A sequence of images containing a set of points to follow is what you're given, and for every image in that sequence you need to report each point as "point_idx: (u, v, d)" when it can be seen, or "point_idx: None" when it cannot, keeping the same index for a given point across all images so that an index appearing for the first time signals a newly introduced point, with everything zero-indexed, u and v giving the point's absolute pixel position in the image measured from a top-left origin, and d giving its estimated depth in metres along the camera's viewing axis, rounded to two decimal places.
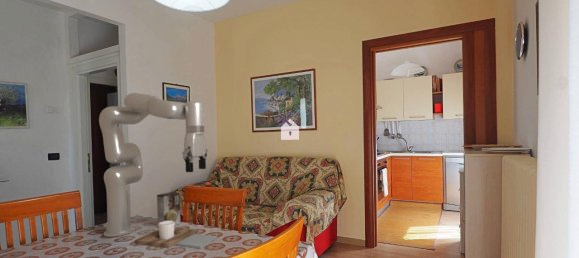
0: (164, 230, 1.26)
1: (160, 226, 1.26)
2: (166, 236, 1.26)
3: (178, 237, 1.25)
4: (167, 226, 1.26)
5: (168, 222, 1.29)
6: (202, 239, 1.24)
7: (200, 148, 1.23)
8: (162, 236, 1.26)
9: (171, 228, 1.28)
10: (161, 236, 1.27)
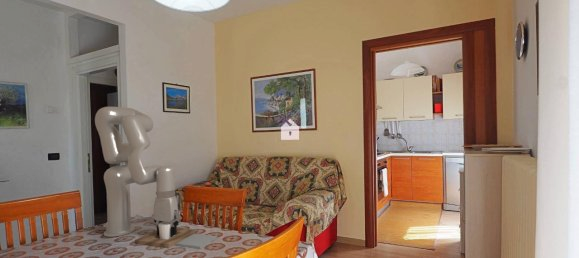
0: (164, 230, 1.26)
1: (160, 226, 1.26)
2: (166, 236, 1.26)
3: (178, 237, 1.25)
4: (167, 226, 1.26)
5: (168, 222, 1.29)
6: (202, 239, 1.24)
7: None
8: (162, 236, 1.26)
9: None
10: (161, 236, 1.27)
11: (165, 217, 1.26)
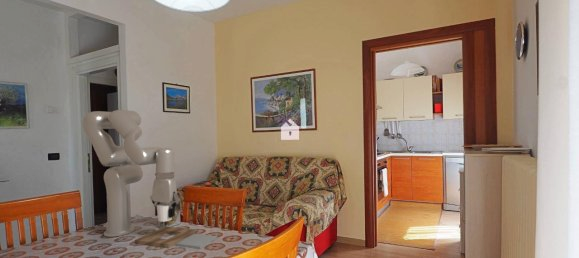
0: (162, 211, 1.26)
1: (158, 207, 1.26)
2: (164, 217, 1.27)
3: (178, 237, 1.25)
4: (165, 207, 1.27)
5: (166, 204, 1.30)
6: (202, 239, 1.24)
7: None
8: (160, 218, 1.27)
9: None
10: (159, 217, 1.27)
11: (164, 198, 1.26)
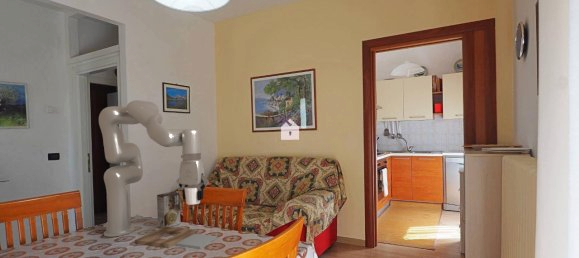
0: (191, 194, 1.22)
1: (187, 190, 1.22)
2: (193, 200, 1.22)
3: (178, 237, 1.25)
4: (194, 189, 1.22)
5: (194, 186, 1.25)
6: (202, 239, 1.24)
7: None
8: (189, 200, 1.22)
9: None
10: (188, 200, 1.22)
11: (192, 180, 1.21)
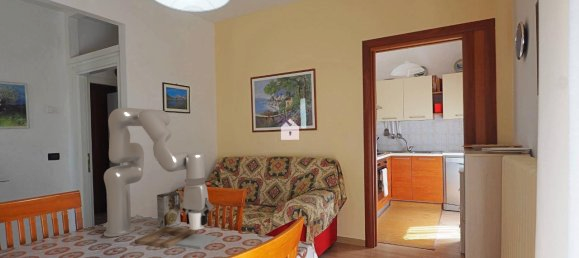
0: (195, 219, 1.21)
1: (190, 215, 1.21)
2: (197, 225, 1.21)
3: (178, 237, 1.25)
4: (198, 215, 1.21)
5: (198, 211, 1.24)
6: (202, 239, 1.24)
7: None
8: (193, 226, 1.21)
9: None
10: (191, 225, 1.21)
11: (196, 205, 1.21)
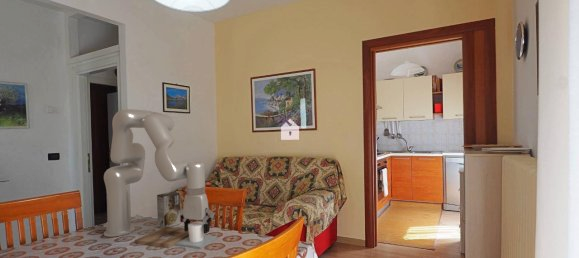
0: (194, 231, 1.21)
1: (190, 227, 1.21)
2: (196, 237, 1.21)
3: (178, 237, 1.25)
4: (198, 227, 1.21)
5: (198, 223, 1.24)
6: None
7: None
8: (192, 238, 1.21)
9: (201, 229, 1.23)
10: (191, 237, 1.21)
11: (196, 215, 1.21)
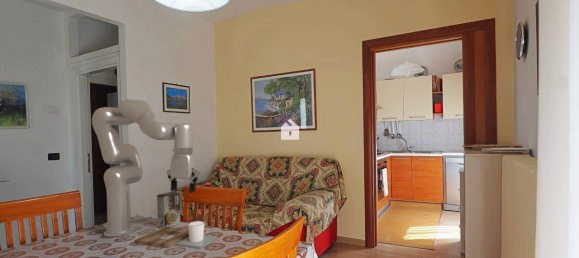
0: (194, 231, 1.21)
1: (190, 227, 1.21)
2: (196, 237, 1.21)
3: (178, 237, 1.25)
4: (198, 227, 1.21)
5: (198, 223, 1.24)
6: None
7: None
8: (192, 238, 1.21)
9: (201, 229, 1.23)
10: (191, 238, 1.21)
11: (182, 174, 1.23)
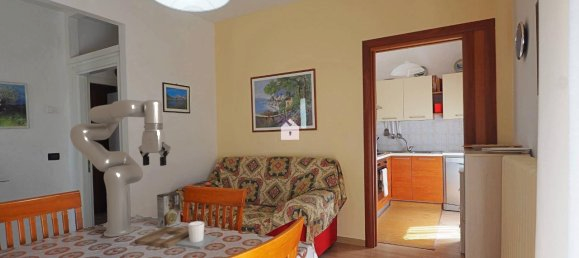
0: (194, 231, 1.21)
1: (190, 227, 1.21)
2: (196, 237, 1.21)
3: (178, 237, 1.25)
4: (198, 227, 1.21)
5: (198, 223, 1.24)
6: None
7: None
8: (192, 238, 1.21)
9: (201, 229, 1.23)
10: (191, 238, 1.21)
11: (152, 148, 1.28)
